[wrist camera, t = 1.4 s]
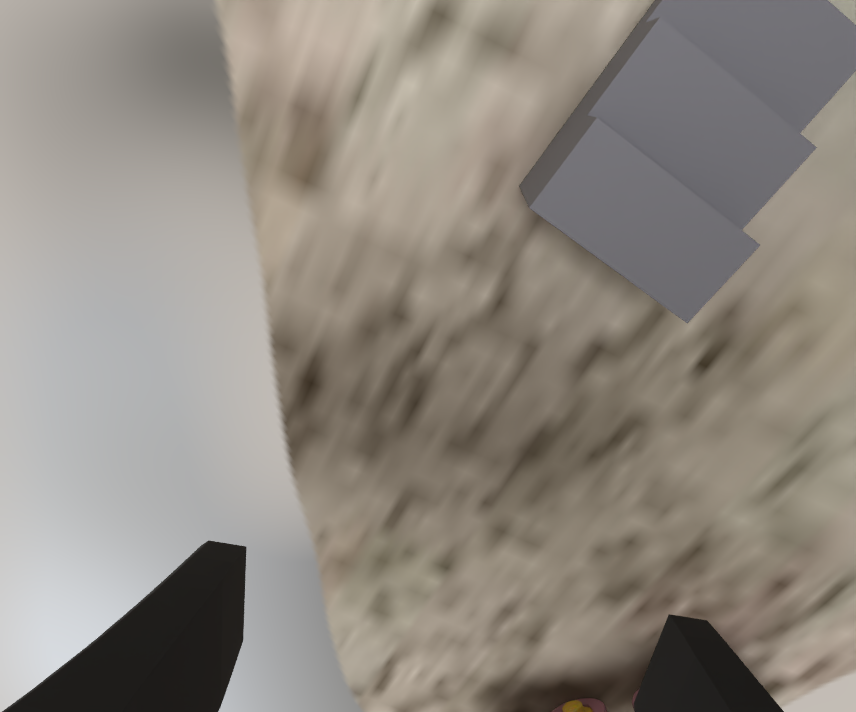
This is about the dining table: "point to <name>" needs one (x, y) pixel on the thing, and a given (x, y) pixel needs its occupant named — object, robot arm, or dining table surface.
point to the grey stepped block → (691, 139)
